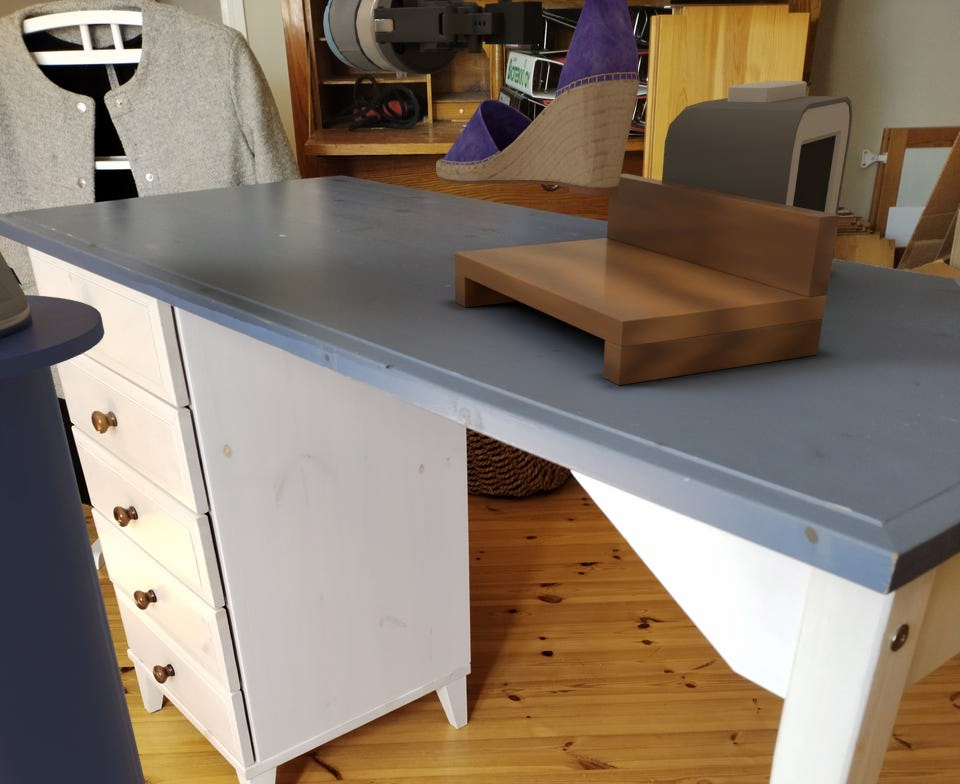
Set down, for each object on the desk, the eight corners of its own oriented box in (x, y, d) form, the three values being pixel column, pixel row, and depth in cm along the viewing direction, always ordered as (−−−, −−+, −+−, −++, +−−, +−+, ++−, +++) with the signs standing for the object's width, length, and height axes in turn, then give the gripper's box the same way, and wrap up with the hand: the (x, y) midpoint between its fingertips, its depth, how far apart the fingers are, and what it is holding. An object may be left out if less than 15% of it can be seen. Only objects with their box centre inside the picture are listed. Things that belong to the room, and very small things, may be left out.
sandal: (500, 172, 89) (500, -32, 82) (649, 194, 75) (666, -51, 67) (419, 178, 85) (412, -36, 78) (560, 202, 71) (568, -57, 63)
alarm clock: (771, 306, 82) (800, 88, 74) (642, 291, 87) (657, 86, 79) (828, 271, 94) (858, 79, 86) (712, 260, 99) (731, 78, 91)
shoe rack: (618, 385, 64) (628, 234, 60) (455, 302, 85) (452, 185, 80) (817, 354, 70) (840, 215, 65) (619, 284, 90) (626, 173, 86)
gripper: (476, 72, 97) (606, 79, 78) (346, 75, 92) (452, 83, 74) (475, -22, 93) (612, -37, 74) (339, -24, 88) (450, -41, 70)
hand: (532, 23), depth 74 cm, fingers closed
